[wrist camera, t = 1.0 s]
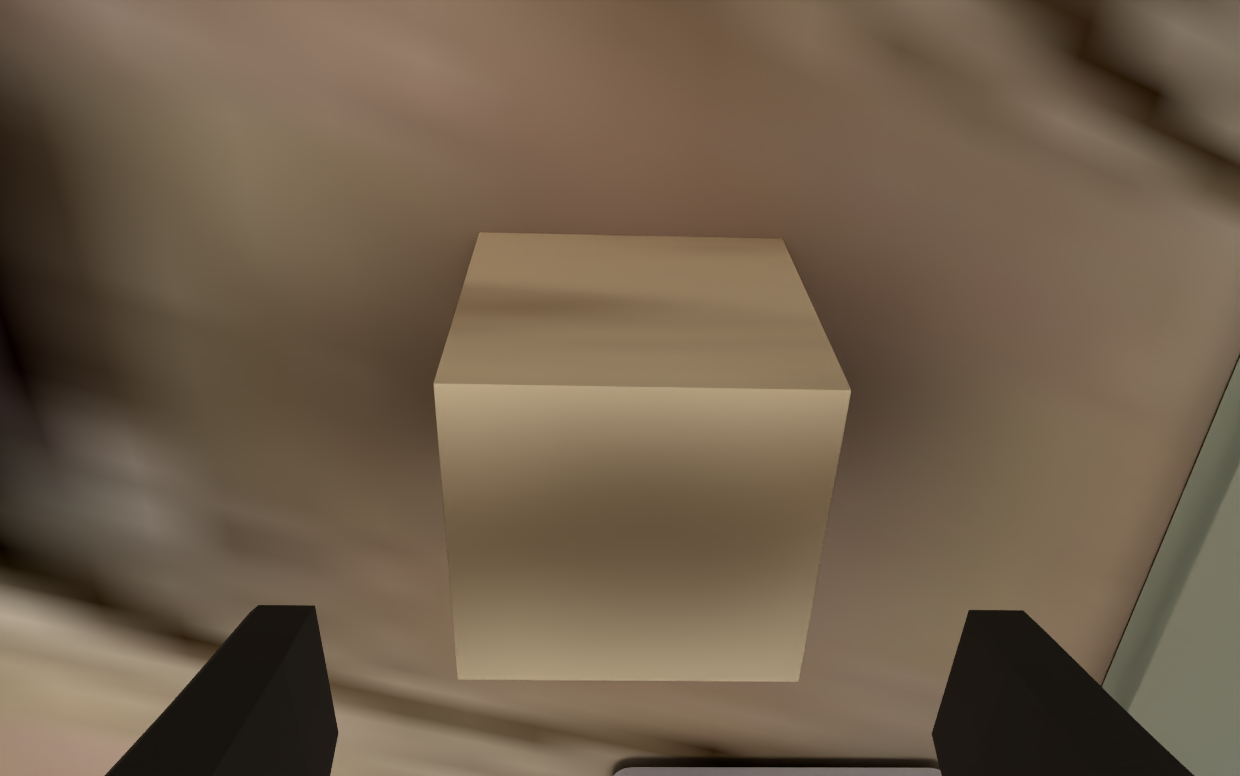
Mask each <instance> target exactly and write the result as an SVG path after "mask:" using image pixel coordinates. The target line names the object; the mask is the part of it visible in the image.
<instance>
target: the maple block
mask: <svg viewBox="0 0 1240 776" xmlns="http://www.w3.org/2000/svg"><path fill="white" fill-rule="evenodd" d="M433 384H434V396H435V408H436V420H437V433H438V445H439V457H440V469H441V481H442V493H443V505H444V517H445V530H446V542H447V554H448V566H449V578H450V590H451V602H452V614H453V627H454V639H455V651H456V663H457V675H458V680H597V681H759V682H799V676H800V671H801V665H802V660H803V654H804V649H805V643H806V637H807V632H808V626H809V621H810V615H811V610H812V604H813V599H814V593H815V588H816V582H817V577H818V571H819V566H820V560H821V555H822V549H823V544H824V538H825V533H826V527H827V522H828V516H829V511H830V505H831V500H832V494H833V489H834V483H835V478H836V472H837V467H838V461H839V456H840V450H841V445H842V439H843V434H844V428H845V423H846V417H847V412H848V406H849V401H850V395H851V388H850V386H849V384H848V382H847V380H846V378H845V375H844V373H843V371H842V369H841V367H840V364H839V362H838V360H837V358H836V356H835V353H834V351H833V349H832V347H831V345H830V342H829V340H828V338H827V336H826V334H825V331H824V329H823V327H822V325H821V323H820V320H819V318H818V316H817V314H816V312H815V310H814V307H813V305H812V303H811V301H810V299H809V296H808V294H807V292H806V290H805V288H804V285H803V283H802V281H801V279H800V277H799V274H798V272H797V270H796V268H795V266H794V263H793V261H792V259H791V257H790V255H789V253H788V250H787V248H786V246H785V244H784V242H783V239H768V238H720V237H672V236H625V235H577V234H530V233H482V232H479V235H478V238H477V242H476V245H475V248H474V251H473V255H472V258H471V261H470V265H469V268H468V271H467V275H466V278H465V281H464V284H463V288H462V291H461V294H460V298H459V301H458V304H457V308H456V311H455V314H454V317H453V321H452V324H451V327H450V331H449V334H448V337H447V340H446V344H445V347H444V350H443V354H442V357H441V360H440V364H439V367H438V370H437V373H436V377H435V380H434V383H433Z"/></svg>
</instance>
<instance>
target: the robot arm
mask: <svg viewBox="0 0 1240 776" xmlns="http://www.w3.org/2000/svg"><path fill="white" fill-rule="evenodd" d="M337 737H338V728H337V723H336V718H335V712H334V707H333V701H332V696H331V691H330V685H329V680H328V674H327V669H326V664H325V658H324V653H323V647H322V642H321V637H320V631H319V626H318V620H317V615H316V610H315V606H294V605H258V606H257V607H256V608H255V609H253V610H252V611H251V612H250V613H249V614H248V615H247V616H246V618H245V619H244V620H243V621H242V622H241V623H240V625H239V626H238V627H237V628H236V629H235V630H234V632H233V633H232V634H231V635H230V636H229V637H228V639H227V640H226V641H225V642H224V643H223V644H222V646H221V647H220V648H219V649H218V650H217V651H216V653H215V654H214V655H213V656H212V657H211V658H210V660H209V661H208V662H207V663H206V664H205V665H204V666H203V668H202V669H201V670H200V671H199V672H198V673H197V675H196V676H195V677H194V678H193V679H192V680H191V681H190V683H189V684H188V685H187V686H186V687H185V688H184V689H183V690H182V692H181V693H180V694H179V695H178V696H177V697H176V698H175V700H174V701H173V702H172V703H171V704H170V705H169V706H168V707H167V709H166V710H165V711H164V712H163V713H162V714H161V715H160V716H159V717H158V718H157V720H156V721H155V722H154V723H153V724H152V725H151V726H150V727H149V728H148V729H147V730H146V732H145V733H144V734H143V735H142V736H141V737H140V738H139V739H138V740H137V741H136V742H135V743H134V745H133V746H132V747H131V748H130V749H129V750H128V751H127V752H126V753H125V754H124V755H123V756H122V758H121V759H120V760H119V761H118V762H117V763H116V764H115V765H114V766H113V767H112V768H111V769H110V771H109V772H108V773H107V774H106V775H105V776H330V773H331V768H332V763H333V757H334V752H335V747H336V742H337ZM932 737H933V741H934V745H935V750H936V754H937V758H938V762H939V766H940V770H938V769H935V768H854V767H629V768H624V769H622V770H620V771H618V772H617V773H616V774H615V775H613V776H1194V775H1193V774H1192V773H1191V772H1190V771H1189V770H1188V769H1187V768H1186V767H1185V766H1184V765H1182V764H1181V763H1180V762H1179V761H1178V760H1177V759H1176V758H1175V757H1174V756H1173V755H1172V754H1171V753H1170V752H1169V751H1168V750H1167V749H1165V748H1164V747H1163V746H1162V745H1161V744H1160V743H1159V742H1158V741H1157V740H1156V739H1155V738H1154V737H1153V736H1152V735H1151V734H1150V733H1149V732H1148V731H1146V730H1145V729H1144V728H1143V727H1142V726H1141V725H1140V724H1139V723H1138V722H1137V721H1136V720H1135V719H1134V718H1133V717H1132V716H1131V715H1130V714H1129V713H1128V712H1127V711H1126V710H1125V709H1124V708H1123V707H1122V706H1121V705H1120V704H1119V703H1118V702H1116V701H1115V700H1114V699H1113V698H1112V697H1111V696H1110V695H1109V694H1108V693H1107V692H1106V691H1105V690H1104V689H1103V688H1102V687H1101V686H1100V685H1099V684H1098V683H1097V682H1096V681H1095V680H1094V679H1093V678H1092V677H1091V676H1090V675H1089V674H1088V673H1087V672H1086V671H1085V670H1084V669H1083V668H1082V667H1081V666H1080V665H1079V664H1078V663H1077V662H1076V661H1075V660H1074V659H1073V658H1072V657H1071V656H1070V655H1069V654H1068V653H1067V652H1066V651H1065V650H1064V649H1063V648H1062V647H1061V646H1059V645H1058V644H1057V643H1056V642H1055V641H1054V640H1053V639H1052V638H1051V637H1050V636H1049V635H1048V634H1047V633H1046V632H1045V631H1044V630H1043V629H1042V628H1041V627H1040V626H1039V625H1038V624H1037V623H1036V622H1035V621H1034V620H1033V619H1032V618H1030V617H1029V616H1028V615H1027V614H1026V613H1025V612H1024V611H1015V610H969V612H968V615H967V618H966V622H965V625H964V628H963V632H962V635H961V638H960V642H959V645H958V648H957V652H956V655H955V658H954V662H953V665H952V668H951V672H950V675H949V678H948V682H947V685H946V688H945V692H944V695H943V698H942V702H941V705H940V708H939V712H938V715H937V718H936V721H935V725H934V728H933V731H932Z"/></svg>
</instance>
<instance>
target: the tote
mask: <svg viewBox="0 0 1240 776" xmlns="http://www.w3.org/2000/svg"><path fill="white" fill-rule="evenodd" d="M1102 688H1103V689H1104V690H1105V691H1106V692H1107V693H1108V694H1109V695H1110V696H1111V697H1112V698H1113V699H1114V700H1115V701H1116V702H1118V703H1119V704H1120V705H1121V706H1122V707H1123V708H1124V709H1125V710H1126V711H1127V712H1128V713H1129V714H1130V715H1131V716H1132V717H1133V718H1134V719H1135V720H1136V721H1137V722H1138V723H1139V724H1140V725H1141V726H1142V727H1143V728H1144V729H1145V730H1146V731H1148V732H1149V733H1150V734H1151V735H1152V736H1153V737H1154V738H1155V739H1156V740H1157V741H1158V742H1159V743H1160V744H1161V745H1162V746H1163V747H1164V748H1165V749H1167V750H1168V751H1169V752H1170V753H1171V754H1172V755H1173V756H1174V757H1175V758H1176V759H1177V760H1178V761H1179V762H1180V763H1181V764H1182V765H1184V766H1185V767H1186V768H1187V769H1188V770H1189V771H1190V772H1191V773H1192V774H1193V775H1194V776H1240V358H1239V361H1238V363H1237V365H1236V368H1235V370H1234V373H1233V375H1232V377H1231V380H1230V382H1229V384H1228V387H1227V389H1226V392H1225V394H1224V396H1223V399H1222V401H1221V404H1220V406H1219V408H1218V411H1217V413H1216V416H1215V418H1214V420H1213V423H1212V425H1211V427H1210V430H1209V432H1208V435H1207V437H1206V439H1205V442H1204V444H1203V447H1202V449H1201V451H1200V454H1199V456H1198V458H1197V461H1196V463H1195V466H1194V468H1193V470H1192V473H1191V475H1190V478H1189V480H1188V482H1187V485H1186V487H1185V490H1184V492H1183V494H1182V497H1181V499H1180V501H1179V504H1178V506H1177V509H1176V511H1175V513H1174V516H1173V518H1172V521H1171V523H1170V525H1169V528H1168V530H1167V533H1166V535H1165V537H1164V540H1163V542H1162V544H1161V547H1160V549H1159V552H1158V554H1157V556H1156V559H1155V561H1154V564H1153V566H1152V568H1151V571H1150V573H1149V576H1148V578H1147V580H1146V583H1145V585H1144V587H1143V590H1142V592H1141V595H1140V597H1139V599H1138V602H1137V604H1136V607H1135V609H1134V611H1133V614H1132V616H1131V619H1130V621H1129V623H1128V626H1127V628H1126V630H1125V633H1124V635H1123V638H1122V640H1121V642H1120V645H1119V647H1118V650H1117V652H1116V654H1115V657H1114V659H1113V662H1112V664H1111V666H1110V669H1109V671H1108V673H1107V676H1106V678H1105V681H1104V683H1103V685H1102Z"/></svg>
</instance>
